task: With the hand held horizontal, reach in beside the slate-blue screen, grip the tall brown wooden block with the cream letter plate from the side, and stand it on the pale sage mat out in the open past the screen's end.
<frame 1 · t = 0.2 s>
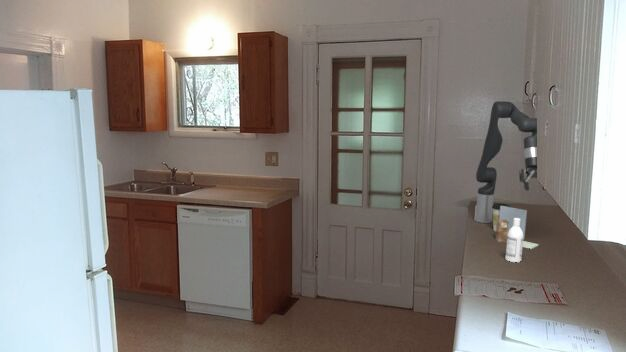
hand: (535, 190, 243), 31 cm above the countertop, tool tilted 20°, fingers open, 8 cm apart
bath foam: (513, 260, 233), on the countertop
brown wooden block: (501, 241, 263), on the countertop
screen: (510, 236, 272), on the countertop
coffee cup: (499, 231, 284), on the countertop
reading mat: (526, 245, 257), on the countertop
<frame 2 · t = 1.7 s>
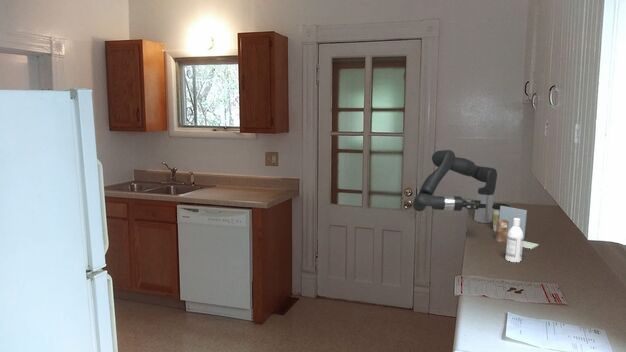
hand: (483, 204, 260), 20 cm above the countertop, tool horizontal, fingers open, 8 cm apart
nothing on the countertop moved.
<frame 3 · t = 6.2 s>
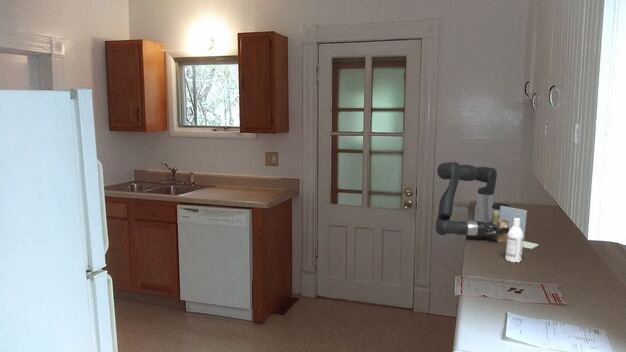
hand: (507, 229, 262), 7 cm above the countertop, tool horizontal, fingers closed on brown wooden block, 4 cm apart
brown wooden block: (500, 241, 263), on the countertop, touching gripper
everything else where it was.
when the fingers open (8 cm above the countertop, at t = 11.3 s): brown wooden block drops 1 cm, resting on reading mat.
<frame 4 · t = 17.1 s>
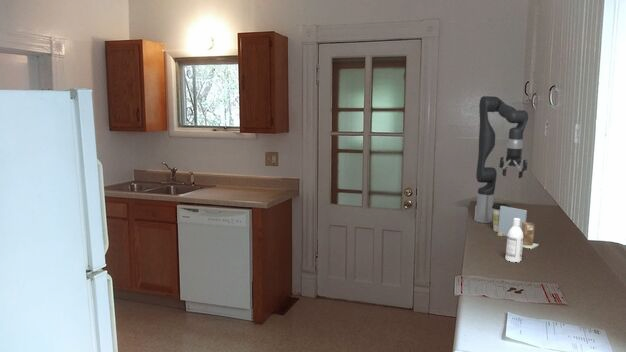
hand: (512, 177, 272), 32 cm above the countertop, tool pointing down, fingers open, 8 cm apart
brown wooden block: (526, 244, 257), point 1 cm above the countertop, touching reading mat
everything else where it was.
at the end: brown wooden block inside the target area on the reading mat (0.1 cm from its centre), point 0.6 cm above the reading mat's base; brown wooden block tilted 0°; the gripper is holding nothing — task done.
